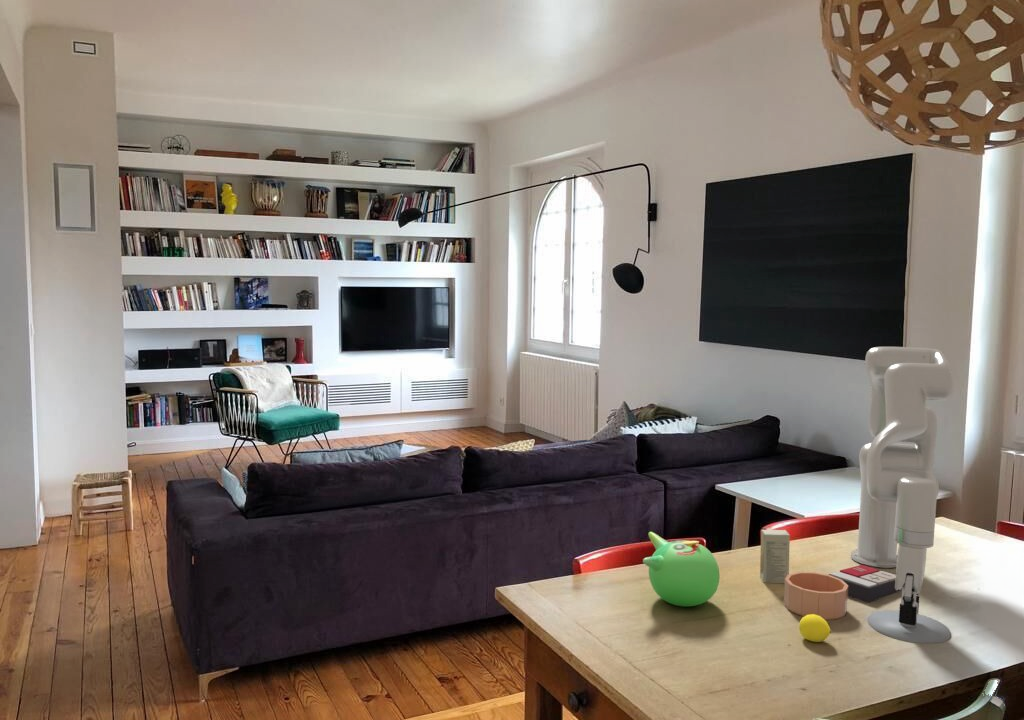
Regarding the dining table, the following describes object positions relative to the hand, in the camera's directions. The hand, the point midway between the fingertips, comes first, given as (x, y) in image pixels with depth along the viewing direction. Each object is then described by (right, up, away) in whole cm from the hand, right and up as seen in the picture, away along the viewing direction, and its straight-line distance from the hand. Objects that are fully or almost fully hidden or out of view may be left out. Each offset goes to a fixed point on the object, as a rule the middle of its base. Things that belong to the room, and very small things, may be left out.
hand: (908, 617), depth 176 cm
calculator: (0, -1, +22) cm, 22 cm away
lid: (0, -2, 0) cm, 2 cm away
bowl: (-16, -1, +10) cm, 19 cm away
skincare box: (-20, +1, +27) cm, 34 cm away
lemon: (-23, -3, -7) cm, 24 cm away
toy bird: (-46, 0, +12) cm, 48 cm away
